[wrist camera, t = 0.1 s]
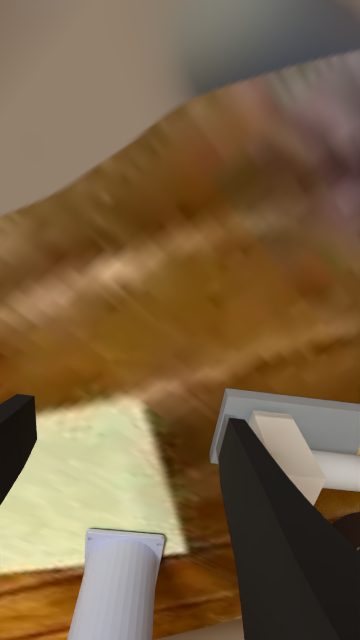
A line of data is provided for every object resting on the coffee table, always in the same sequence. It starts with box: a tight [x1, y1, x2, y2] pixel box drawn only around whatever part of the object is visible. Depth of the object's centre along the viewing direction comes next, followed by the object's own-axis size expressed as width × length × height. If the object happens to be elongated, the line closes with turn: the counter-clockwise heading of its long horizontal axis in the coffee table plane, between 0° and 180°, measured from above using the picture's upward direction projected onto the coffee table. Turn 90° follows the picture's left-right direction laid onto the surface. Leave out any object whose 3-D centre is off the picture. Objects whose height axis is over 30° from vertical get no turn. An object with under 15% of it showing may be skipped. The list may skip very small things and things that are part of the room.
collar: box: [249, 410, 326, 506], centre depth 19 cm, size 6×3×5 cm, turn 172°
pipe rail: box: [209, 388, 360, 492], centre depth 21 cm, size 7×16×5 cm, turn 82°
